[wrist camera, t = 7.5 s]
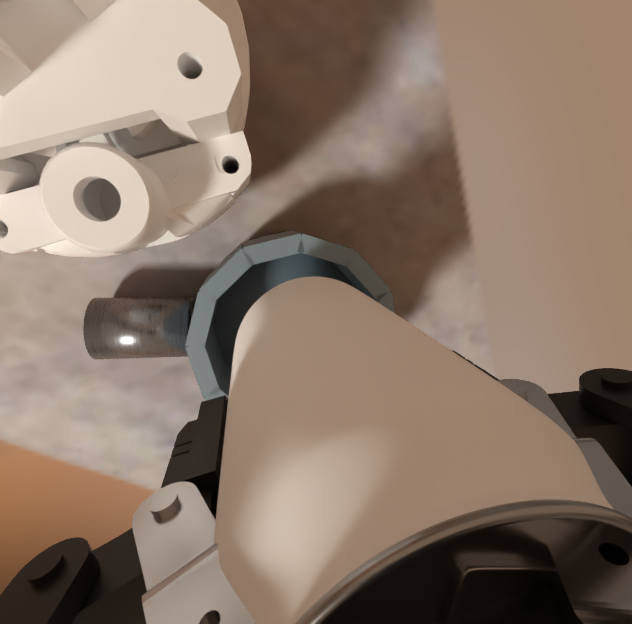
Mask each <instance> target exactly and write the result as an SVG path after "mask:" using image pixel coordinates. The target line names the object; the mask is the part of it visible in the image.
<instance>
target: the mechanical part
mask: <svg viewBox="0 0 632 624" xmlns="http://www.w3.org/2000/svg"><path fill="white" fill-rule="evenodd" d="M249 96H250V61H249V46H248V41H247V36H246V31H245V26H244V20H243V15H242V12H241V9H240V6H239V4H238V1H237V0H0V251H3V252H7V253H11V254H15V253H22V252H28V251H36V252H38V251H44V250H45V251H46V253H51V254H56V255H62V256H69V257H103V256H112V255H120V254H125V253H128V252H132V251H135V250H138V249H142V248H145V247H150V246H155V245H160V244H164V243H168V242H172V241H176V240H179V239H181V238H183V237H186V236H188V235H190V234H192V233H194V232H196V231H198V230H200V229H202V228H204V227H206V226H207V225H209V224H211V223H212V222H213V221H214V220H216V219H217V218H218V217H220V216H221V215H222V214H224V213H225V212H226V211H227V210H228V209H229V208H230V207H231V206H232V205H233V204H234V203H235V200H236V199H237V197H238V196H239V195H240V194H241V193H242V192H243V191H244V189H245V188H246V187H247V186H248V185H249V183H250V175H251V167H252V161H251V155H250V151H249V148H248V145H247V142H246V138H245V135H244V132H243V129H244V126H245V122H246V116H247V109H248V103H249ZM233 198H234V199H235V200H234V199H233Z"/></svg>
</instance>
